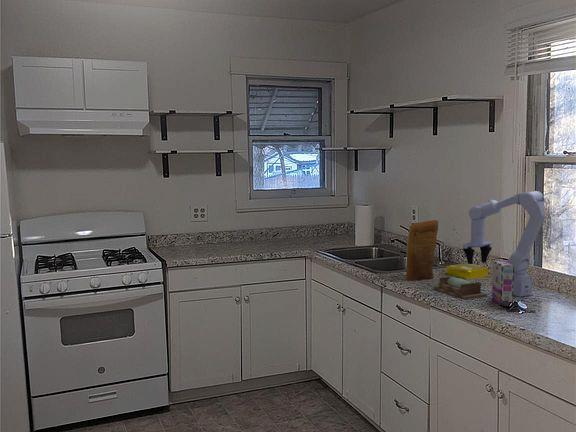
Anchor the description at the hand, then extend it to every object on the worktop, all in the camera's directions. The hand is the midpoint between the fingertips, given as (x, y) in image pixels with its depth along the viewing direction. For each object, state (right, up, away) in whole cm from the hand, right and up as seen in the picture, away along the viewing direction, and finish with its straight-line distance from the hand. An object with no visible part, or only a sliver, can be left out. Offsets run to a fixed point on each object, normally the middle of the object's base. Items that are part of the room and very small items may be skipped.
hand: (476, 263), depth 258 cm
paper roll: (-11, -8, -11) cm, 18 cm away
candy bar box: (+1, -14, -29) cm, 32 cm away
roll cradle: (-11, -12, -11) cm, 20 cm away
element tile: (+3, -8, +25) cm, 26 cm away
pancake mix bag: (-21, -9, +16) cm, 28 cm away
